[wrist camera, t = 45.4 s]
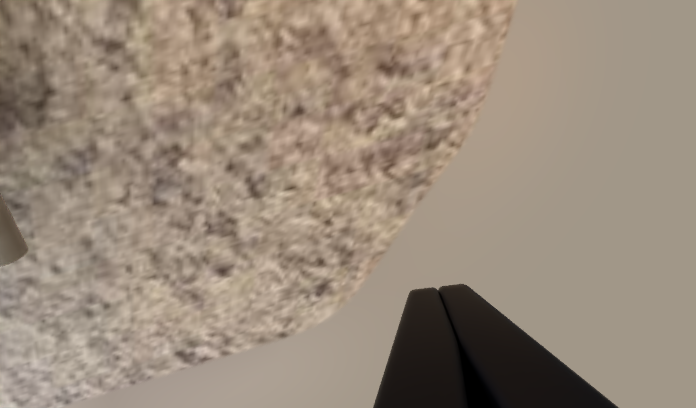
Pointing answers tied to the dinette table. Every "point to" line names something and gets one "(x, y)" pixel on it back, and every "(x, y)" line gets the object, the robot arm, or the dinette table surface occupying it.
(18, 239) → the drawer
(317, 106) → the dinette table surface
